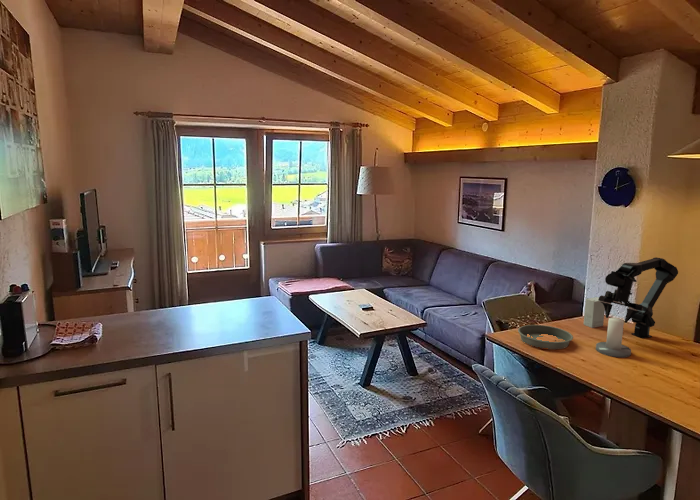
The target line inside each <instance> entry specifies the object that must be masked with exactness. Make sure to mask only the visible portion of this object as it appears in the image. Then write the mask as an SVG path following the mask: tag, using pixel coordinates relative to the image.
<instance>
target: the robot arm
mask: <svg viewBox="0 0 700 500" xmlns="http://www.w3.org/2000/svg"><path fill="white" fill-rule="evenodd" d="M652 269H654V270H655V280H654V282H653V283H652V285H651V286H650V288H649V290H648V292H647V293H646V295H645V296H644V298H643V300H642V302H641V303H639V304H638V303H635V302H631V301H629V300H630V299H629V298H630V296H632V294H633V292H631V291H632V287H633V284H634V283H637V279H636V278H635V277H638V276H640V275H641V274H642V273H643V272H646V271H649V270H652ZM678 274H679V270H678V268H677V266H675V265H674V264H672V263H670V262H668V261H667V260H666V259H664V258H663V257H662V258H661V257H656V256H655V257H653V258H651V259H646V260H642V261H639V262H624V263H622V264H621V266H620V267H619V268H617V269H616V270H615V271H613V270H611V272H610V273H609V274H607V275H606V276H605V280H604V282H605V283H606V284H607V285H608V286H611V287H616V289H614V292H612V291H609V290H606V291H605V294H604V295H602V294H601V295H600V296H598V298H599V299H598V300H599V301H602V302H601V303H602V304H603V305H604V308H605V312H604V316H605V318H606V319H609V318H610V314H611V311H612V308H613V304H616V305H619V306H623V307H626V314H625V317H624V323H625V324H626V323H628V322H629V321H630V320H631V322H632V323H635V324H634V332H632V333H631V335H633V336H635V337H638V338H642V339H646V338H652V335H650V331H651V329H650V328H652V327H655V324H656V321H655V320H654V318H653V315H654V310H653V307H654V306H655V305H656V302H657V301H658V300H659V298H660V296H661V294H662V292H663V291H664V289H665V288H666V286H667V284H669V283H671V282H673V281H674V280H675V278H676V277H677V276H678Z"/></svg>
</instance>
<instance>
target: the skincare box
mask: <svg viewBox="0 0 700 500" xmlns="http://www.w3.org/2000/svg"><path fill="white" fill-rule="evenodd" d="M598 299H599V296H596V297H590V298H585V303H584V304H585V305H584V315H583V326H586V327H589V328H592V329H594V328H598V327H599V328H600V327H603V326H604V320H605V308H604V305H603V304H602V303H601V302H602V301H599V300H598Z"/></svg>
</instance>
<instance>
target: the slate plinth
mask: <svg viewBox="0 0 700 500" xmlns="http://www.w3.org/2000/svg"><path fill="white" fill-rule="evenodd" d="M595 351H596V352H598V353H599V354H601V355H604V356H607V357H611V358H612V357H613V358H623V359H624V358H629V357H630V356H631V354H632V349H631V347H629V346H627V345H624V344H623V343H622V344H621V349H620V350H614V349H610V348H607V347H606V341H599V342H596V343H595Z"/></svg>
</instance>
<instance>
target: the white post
mask: <svg viewBox="0 0 700 500" xmlns="http://www.w3.org/2000/svg"><path fill="white" fill-rule="evenodd" d="M624 323H625V319H621V318H618V317H617V318H616V317H608V322H607V332H606V341H605V342H606V347H607V348H610V349H614V350H620V349H621V344H622V345H623V342H622V341H623V335H624V334H623V333H624Z"/></svg>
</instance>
